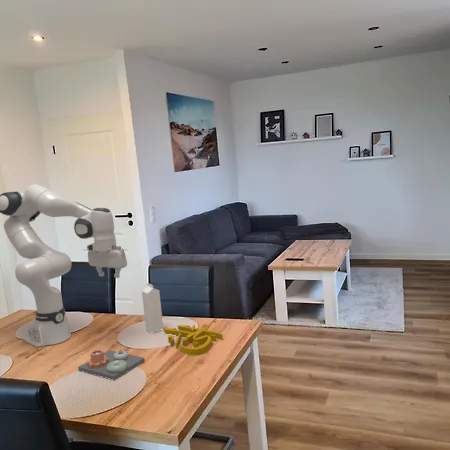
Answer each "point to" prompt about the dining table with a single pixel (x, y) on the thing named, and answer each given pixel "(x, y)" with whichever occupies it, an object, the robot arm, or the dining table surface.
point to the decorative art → (192, 338)
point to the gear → (97, 359)
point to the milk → (152, 308)
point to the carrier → (115, 364)
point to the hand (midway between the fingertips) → (109, 277)
